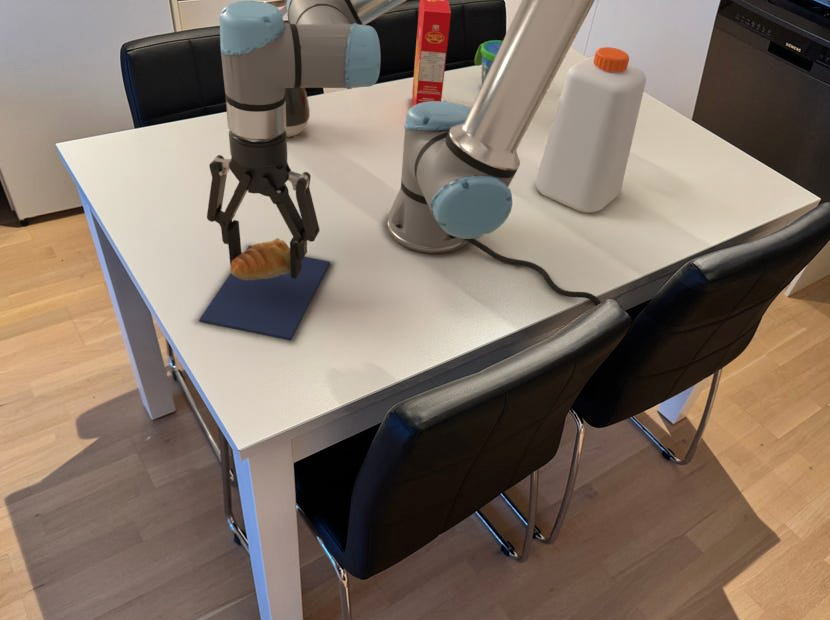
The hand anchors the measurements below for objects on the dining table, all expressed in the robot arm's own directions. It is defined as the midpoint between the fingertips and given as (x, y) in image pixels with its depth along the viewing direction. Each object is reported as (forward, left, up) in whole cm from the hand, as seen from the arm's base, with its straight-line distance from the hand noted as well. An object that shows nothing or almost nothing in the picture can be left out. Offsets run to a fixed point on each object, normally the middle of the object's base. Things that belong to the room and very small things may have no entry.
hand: (266, 267), depth 113 cm
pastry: (0, 0, 0) cm, 0 cm away
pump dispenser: (+15, -52, -5) cm, 54 cm away
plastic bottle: (-47, -50, -5) cm, 69 cm away
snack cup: (-25, -92, -5) cm, 95 cm away
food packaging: (-11, -71, -5) cm, 72 cm away
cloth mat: (0, 0, -5) cm, 5 cm away
